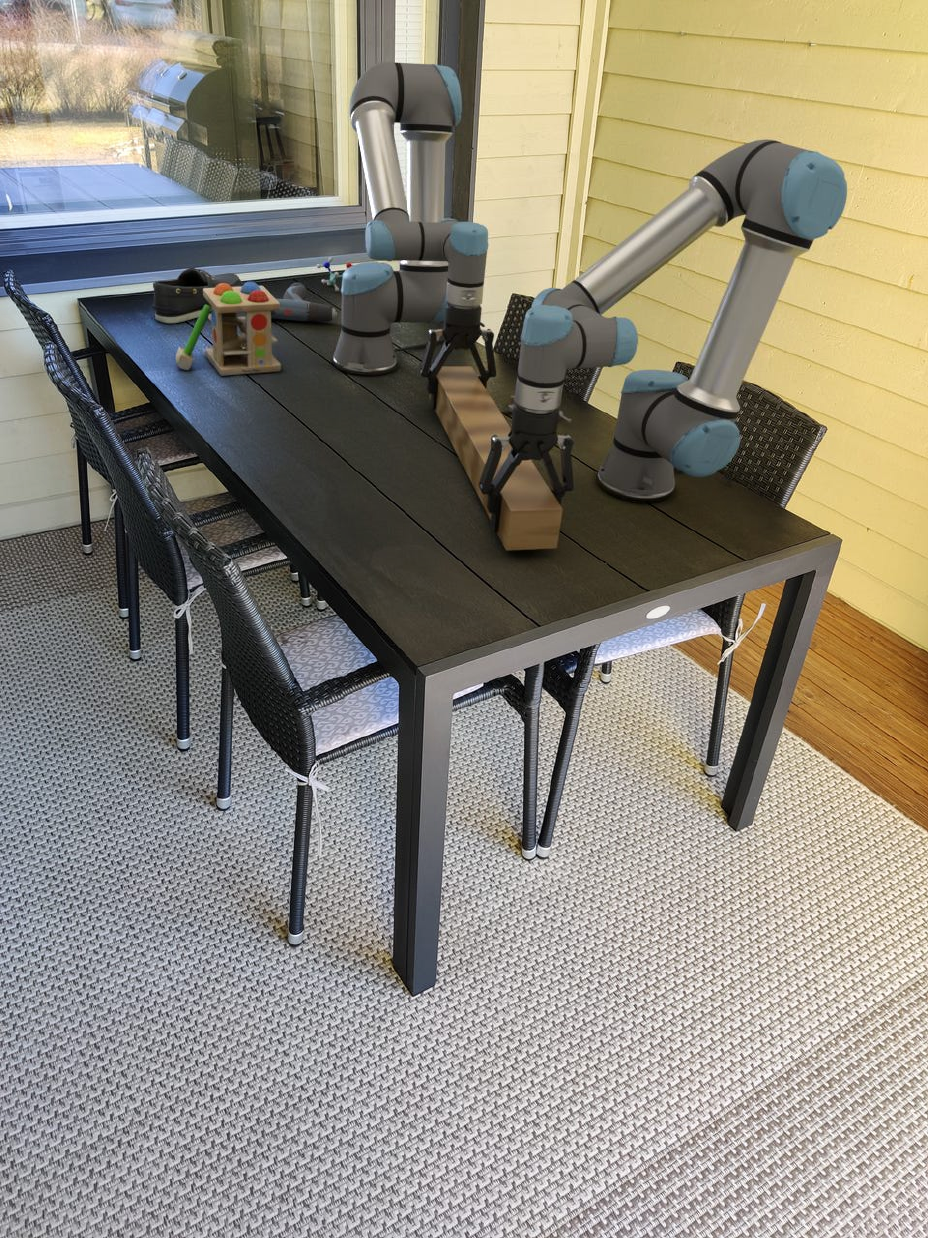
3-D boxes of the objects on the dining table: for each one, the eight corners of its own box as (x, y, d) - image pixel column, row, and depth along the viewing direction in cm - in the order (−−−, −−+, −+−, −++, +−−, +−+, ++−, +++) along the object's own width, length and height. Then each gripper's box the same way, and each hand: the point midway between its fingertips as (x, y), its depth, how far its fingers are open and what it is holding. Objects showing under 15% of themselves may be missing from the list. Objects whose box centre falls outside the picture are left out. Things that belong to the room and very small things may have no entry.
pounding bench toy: (183, 379, 220) (176, 299, 210) (169, 357, 231) (162, 280, 221) (282, 371, 230) (280, 294, 220) (264, 350, 240) (262, 276, 230)
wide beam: (429, 398, 219) (431, 366, 215) (468, 398, 221) (471, 366, 217) (506, 550, 165) (510, 511, 161) (556, 548, 167) (562, 509, 163)
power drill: (344, 304, 276) (335, 327, 259) (277, 298, 275) (264, 321, 258) (344, 285, 273) (335, 306, 256) (277, 279, 272) (264, 300, 255)
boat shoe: (261, 302, 273) (259, 263, 267) (172, 325, 249) (168, 283, 243) (227, 293, 278) (225, 255, 273) (137, 316, 254) (132, 274, 249)
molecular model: (349, 283, 280) (337, 248, 279) (321, 295, 284) (310, 261, 283) (366, 286, 291) (354, 252, 289) (339, 298, 294) (328, 265, 293)
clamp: (499, 396, 222) (536, 391, 226) (498, 406, 223) (534, 400, 228) (535, 422, 211) (573, 416, 216) (534, 432, 213) (571, 425, 217)
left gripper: (415, 308, 196) (409, 414, 209) (519, 310, 201) (507, 413, 214) (408, 297, 202) (403, 400, 215) (510, 298, 207) (499, 400, 220)
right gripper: (477, 415, 153) (465, 540, 166) (607, 413, 158) (586, 535, 171) (466, 396, 159) (455, 518, 172) (592, 396, 164) (573, 514, 177)
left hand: (455, 407), depth 214 cm, fingers closed on wide beam, 9 cm apart
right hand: (521, 526), depth 172 cm, fingers closed on wide beam, 9 cm apart
